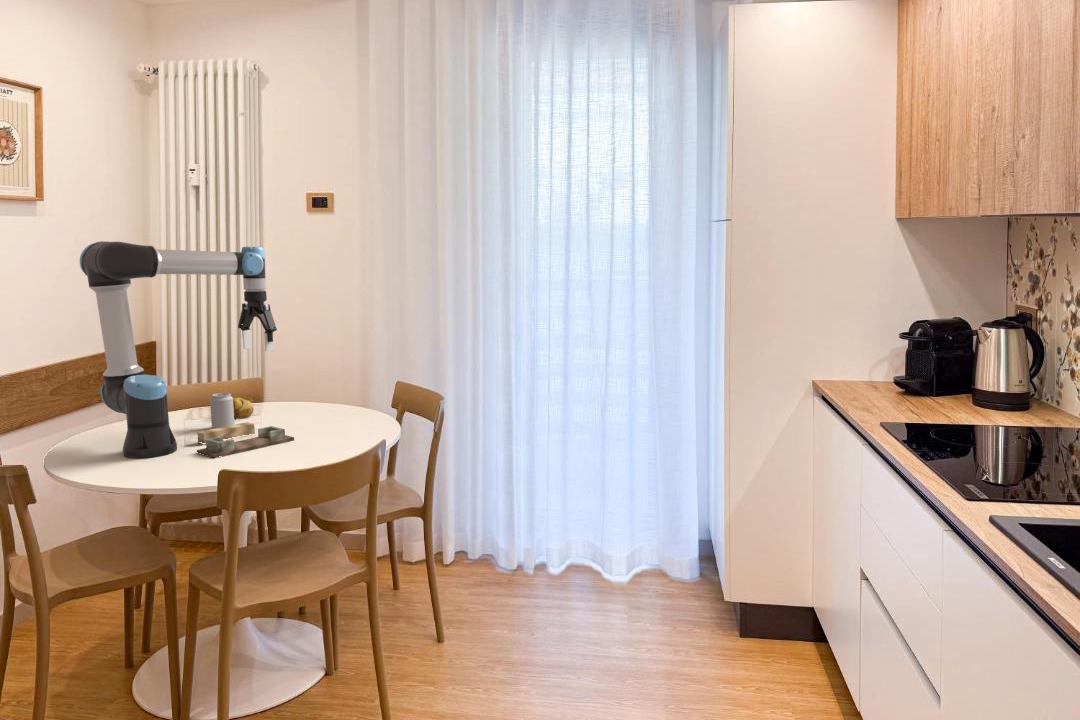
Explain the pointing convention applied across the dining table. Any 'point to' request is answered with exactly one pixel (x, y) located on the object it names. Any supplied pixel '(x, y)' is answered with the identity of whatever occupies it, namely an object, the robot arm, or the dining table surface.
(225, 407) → the can
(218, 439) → the cradle
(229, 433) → the slat
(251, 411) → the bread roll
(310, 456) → the dining table surface
